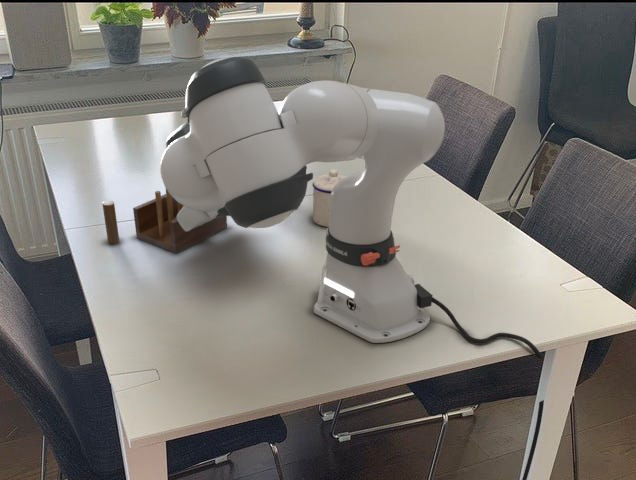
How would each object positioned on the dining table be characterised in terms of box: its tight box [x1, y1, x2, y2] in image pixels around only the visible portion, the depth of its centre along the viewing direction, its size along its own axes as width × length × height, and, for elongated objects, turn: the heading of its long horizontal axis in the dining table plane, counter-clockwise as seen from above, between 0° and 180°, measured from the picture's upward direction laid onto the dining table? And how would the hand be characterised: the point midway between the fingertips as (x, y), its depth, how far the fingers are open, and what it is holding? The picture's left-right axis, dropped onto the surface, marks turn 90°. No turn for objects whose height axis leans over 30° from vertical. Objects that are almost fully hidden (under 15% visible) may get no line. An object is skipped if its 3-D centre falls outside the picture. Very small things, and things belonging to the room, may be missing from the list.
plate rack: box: [132, 188, 228, 254], centre depth 164 cm, size 12×16×12 cm
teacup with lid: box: [312, 169, 346, 228], centre depth 171 cm, size 12×9×12 cm
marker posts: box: [101, 200, 120, 246], centre depth 168 cm, size 2×27×9 cm, turn 143°
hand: (202, 220), depth 161 cm, fingers closed, pressing on plate rack
